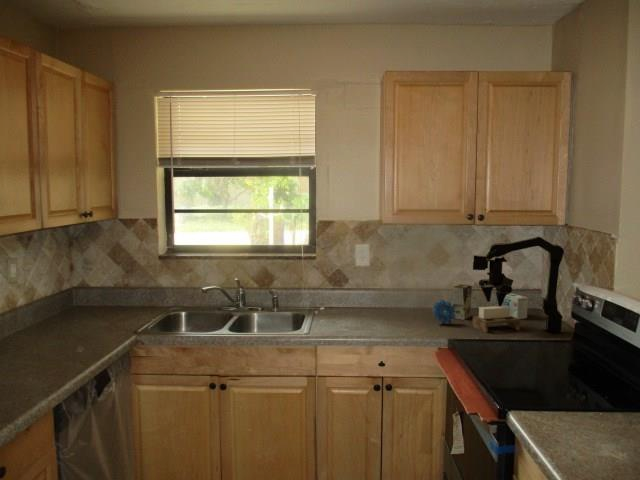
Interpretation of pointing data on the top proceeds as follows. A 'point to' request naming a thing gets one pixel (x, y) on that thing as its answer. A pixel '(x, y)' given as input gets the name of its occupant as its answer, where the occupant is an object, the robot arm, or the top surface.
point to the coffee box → (462, 301)
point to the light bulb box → (516, 305)
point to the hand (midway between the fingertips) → (494, 303)
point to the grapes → (444, 311)
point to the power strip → (494, 312)
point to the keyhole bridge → (483, 324)
